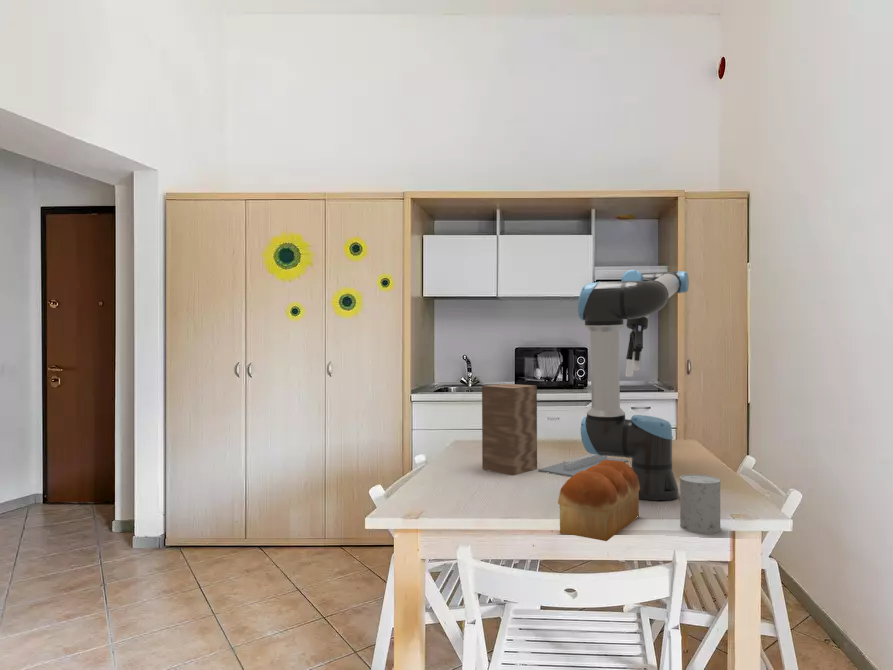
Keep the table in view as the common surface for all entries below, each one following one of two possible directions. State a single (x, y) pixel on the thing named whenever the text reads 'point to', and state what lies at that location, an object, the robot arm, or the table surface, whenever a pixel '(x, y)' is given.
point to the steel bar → (582, 461)
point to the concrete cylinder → (700, 503)
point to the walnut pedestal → (509, 428)
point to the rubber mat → (559, 470)
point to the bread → (599, 500)
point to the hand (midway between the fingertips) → (632, 373)
